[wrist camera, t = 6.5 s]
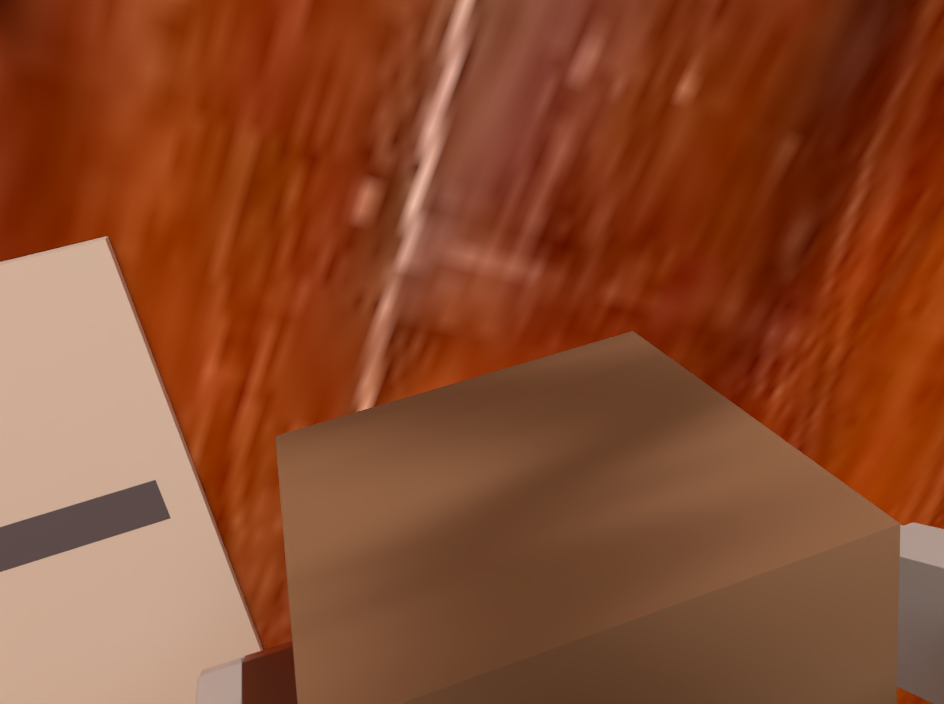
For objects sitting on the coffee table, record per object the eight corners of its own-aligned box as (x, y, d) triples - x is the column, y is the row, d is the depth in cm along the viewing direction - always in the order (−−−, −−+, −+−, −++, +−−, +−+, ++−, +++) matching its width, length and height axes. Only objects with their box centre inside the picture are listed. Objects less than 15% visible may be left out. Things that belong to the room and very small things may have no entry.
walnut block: (632, 331, 11) (900, 523, 7) (667, 610, 13) (891, 908, 9) (274, 435, 10) (301, 739, 6) (369, 718, 12) (443, 1109, 8)
